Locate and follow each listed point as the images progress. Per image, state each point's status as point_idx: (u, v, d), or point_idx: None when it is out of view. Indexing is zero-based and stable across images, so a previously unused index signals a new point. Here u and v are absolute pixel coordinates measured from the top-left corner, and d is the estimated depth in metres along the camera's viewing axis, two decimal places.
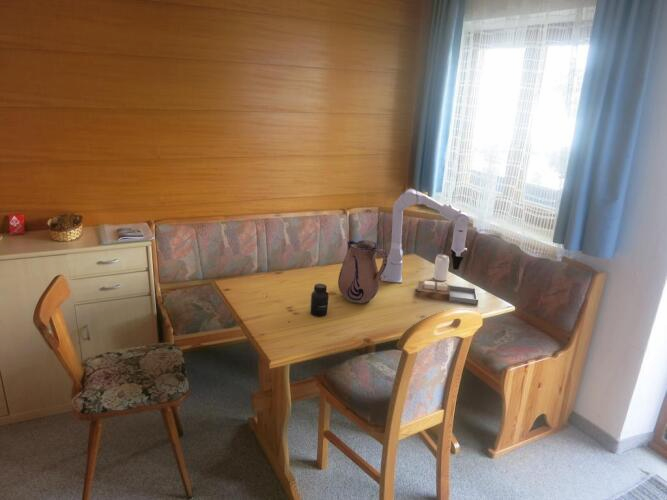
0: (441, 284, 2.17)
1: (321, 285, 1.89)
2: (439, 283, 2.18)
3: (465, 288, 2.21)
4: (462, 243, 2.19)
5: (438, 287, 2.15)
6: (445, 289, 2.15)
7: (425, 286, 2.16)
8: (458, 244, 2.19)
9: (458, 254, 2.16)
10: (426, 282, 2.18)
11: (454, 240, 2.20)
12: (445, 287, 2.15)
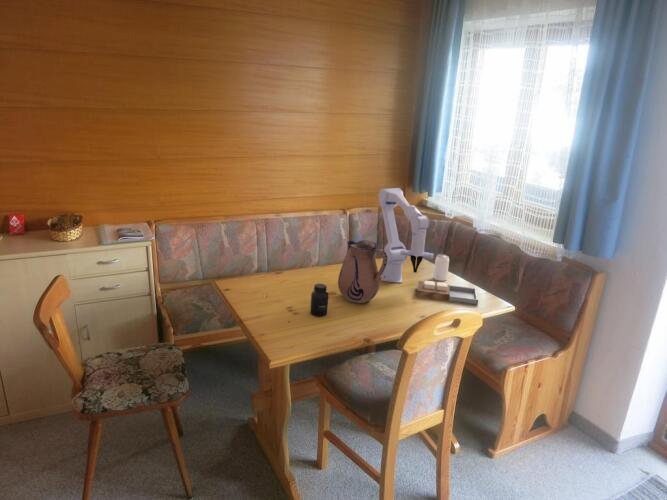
0: (441, 284, 2.17)
1: (321, 285, 1.89)
2: (439, 283, 2.18)
3: (465, 288, 2.21)
4: (412, 246, 2.13)
5: (438, 287, 2.15)
6: (445, 289, 2.15)
7: (425, 286, 2.16)
8: (411, 246, 2.15)
9: None
10: (426, 282, 2.18)
11: None
12: (445, 287, 2.15)
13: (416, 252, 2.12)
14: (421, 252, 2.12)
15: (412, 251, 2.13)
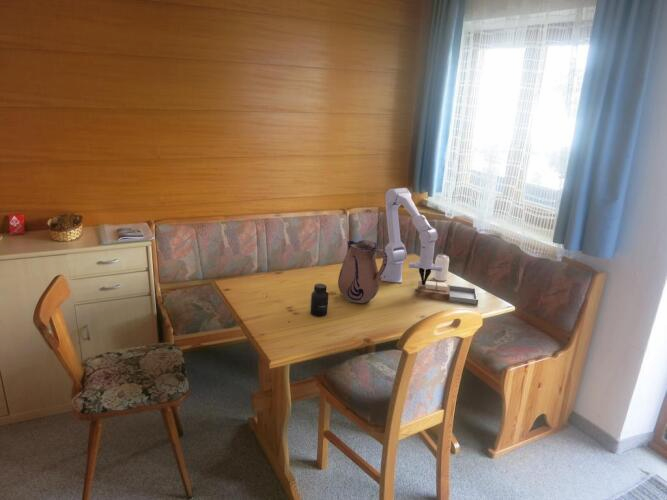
0: (441, 284, 2.17)
1: (321, 285, 1.89)
2: (439, 283, 2.18)
3: (465, 288, 2.21)
4: (420, 259, 2.14)
5: (438, 287, 2.15)
6: (445, 289, 2.15)
7: (426, 286, 2.16)
8: None
9: (409, 265, 2.17)
10: (427, 282, 2.18)
11: None
12: (445, 287, 2.15)
13: (425, 265, 2.13)
14: (430, 265, 2.13)
15: (421, 264, 2.14)
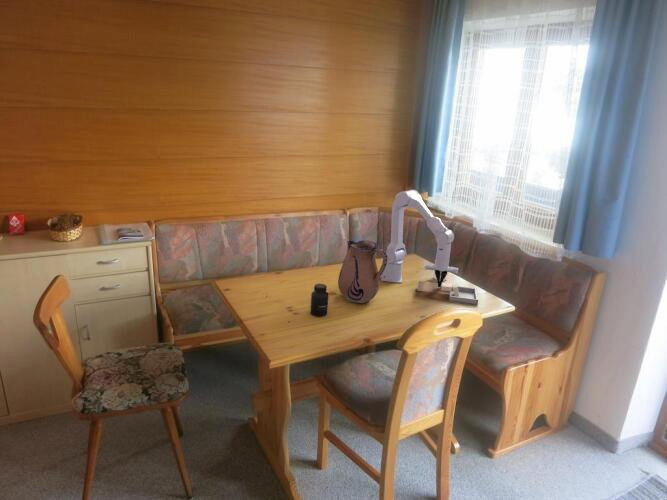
0: None
1: (321, 285, 1.89)
2: (457, 286, 2.17)
3: (465, 288, 2.21)
4: (436, 261, 2.13)
5: (455, 288, 2.14)
6: (455, 295, 2.14)
7: (442, 288, 2.15)
8: None
9: None
10: (443, 284, 2.17)
11: None
12: (457, 294, 2.14)
13: (441, 267, 2.12)
14: (446, 267, 2.12)
15: (437, 266, 2.13)
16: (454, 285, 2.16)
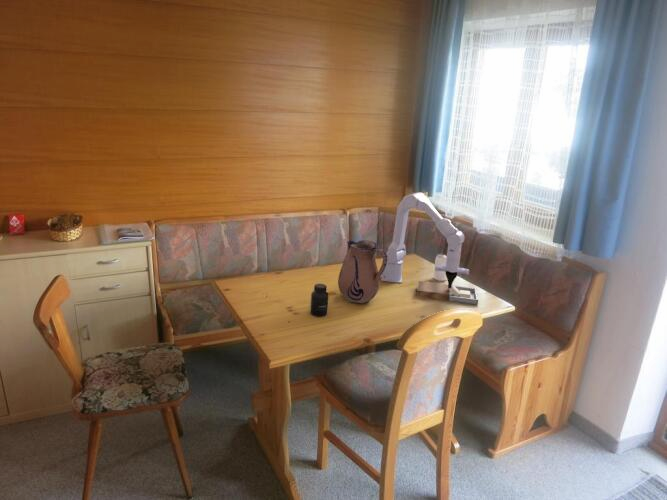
0: None
1: (321, 285, 1.89)
2: None
3: (465, 288, 2.21)
4: (447, 262, 2.12)
5: (468, 296, 2.13)
6: (461, 294, 2.14)
7: (451, 289, 2.14)
8: (446, 262, 2.14)
9: (435, 268, 2.15)
10: (453, 286, 2.16)
11: None
12: (461, 296, 2.14)
13: (451, 268, 2.11)
14: (456, 268, 2.11)
15: (447, 267, 2.12)
16: (469, 294, 2.15)
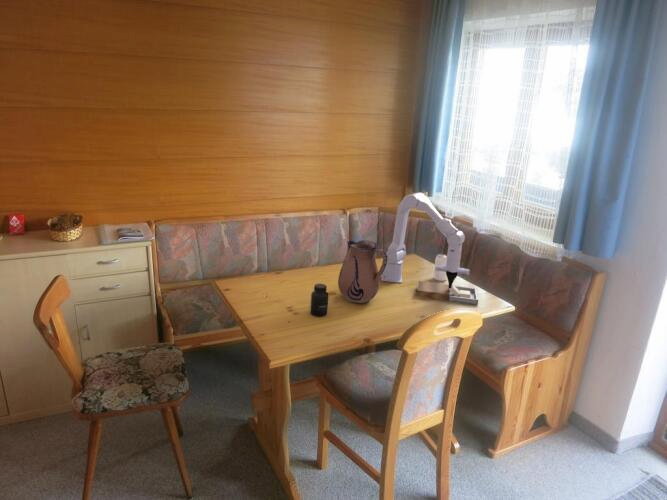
0: None
1: (321, 285, 1.89)
2: None
3: (465, 288, 2.21)
4: (447, 262, 2.12)
5: (468, 296, 2.13)
6: (461, 294, 2.14)
7: (451, 289, 2.14)
8: (446, 262, 2.14)
9: (435, 268, 2.15)
10: (453, 286, 2.16)
11: None
12: (461, 296, 2.14)
13: (452, 268, 2.11)
14: (457, 268, 2.11)
15: (447, 267, 2.12)
16: (469, 294, 2.15)
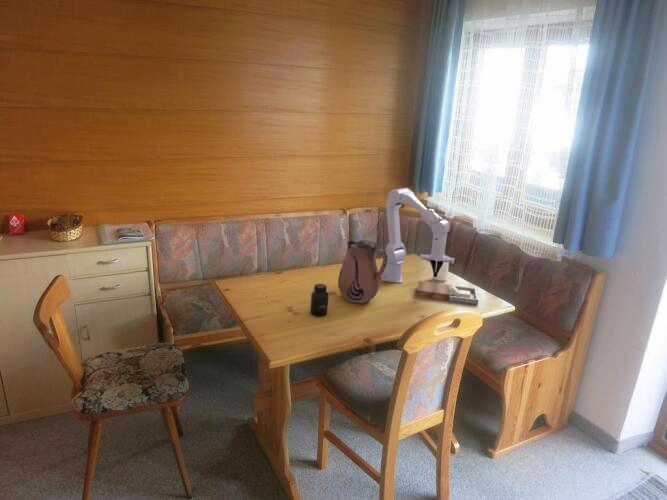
0: None
1: (321, 285, 1.89)
2: None
3: (465, 288, 2.21)
4: (432, 251, 2.12)
5: (468, 296, 2.13)
6: (461, 294, 2.14)
7: (451, 290, 2.14)
8: (431, 251, 2.14)
9: None
10: (453, 286, 2.16)
11: None
12: (461, 296, 2.14)
13: (437, 257, 2.11)
14: (442, 257, 2.11)
15: (432, 256, 2.12)
16: (469, 294, 2.15)
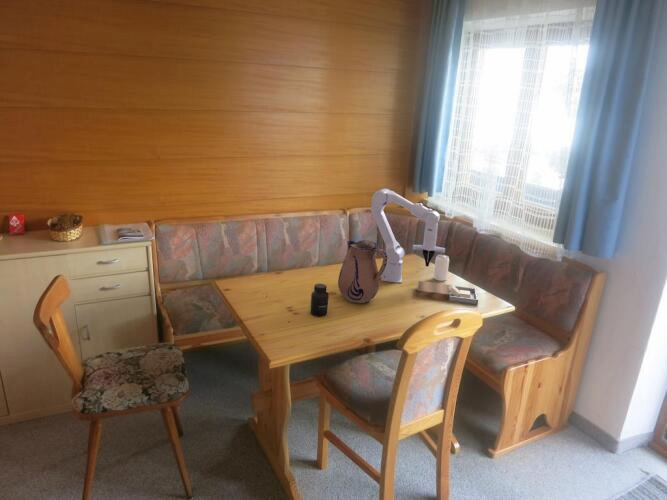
0: None
1: (321, 285, 1.89)
2: None
3: (465, 288, 2.21)
4: (424, 241, 2.20)
5: (468, 296, 2.13)
6: (461, 294, 2.14)
7: (451, 290, 2.14)
8: (423, 241, 2.22)
9: (413, 247, 2.24)
10: (453, 286, 2.16)
11: None
12: (461, 296, 2.14)
13: (428, 246, 2.20)
14: (433, 246, 2.20)
15: (424, 246, 2.21)
16: (469, 294, 2.15)
